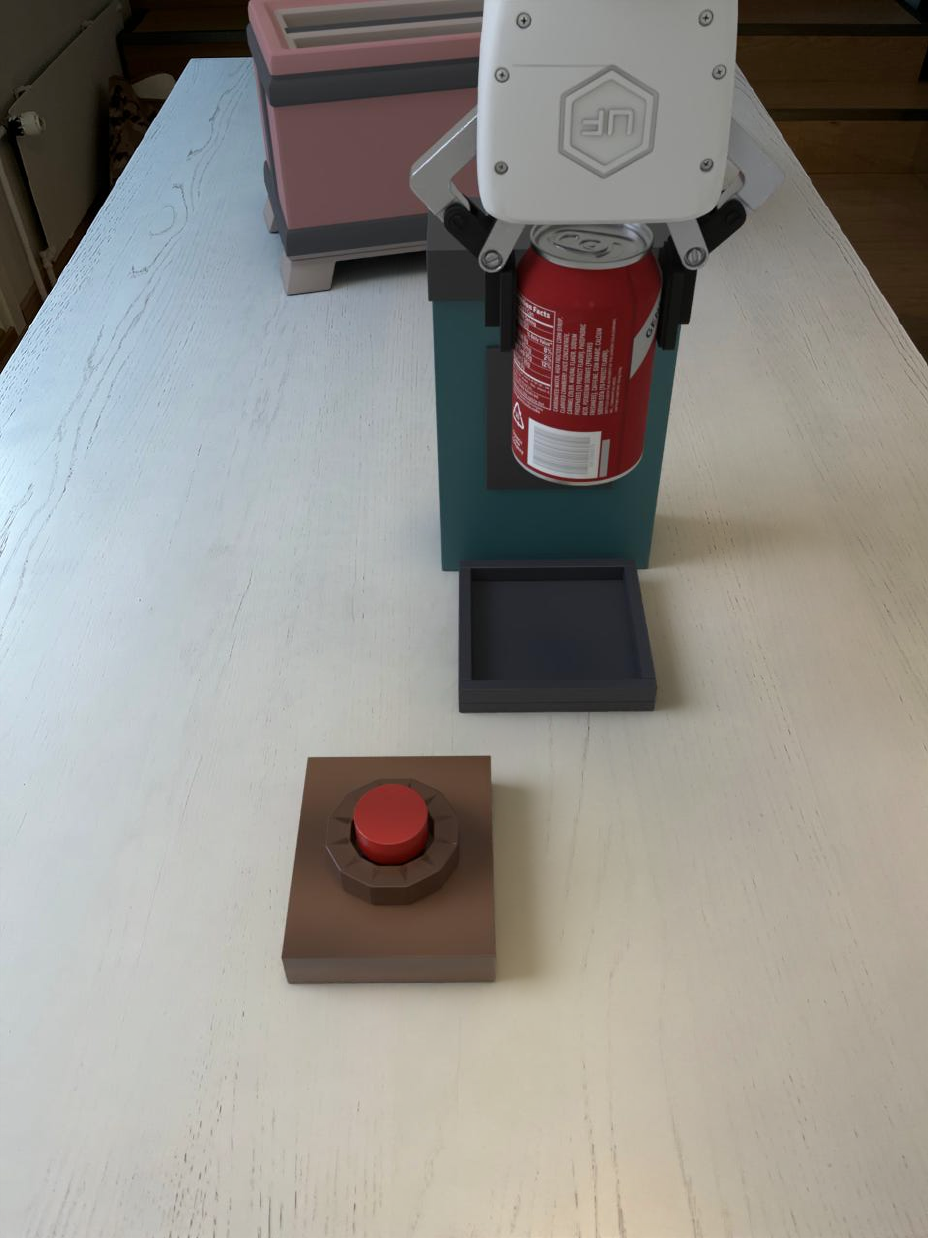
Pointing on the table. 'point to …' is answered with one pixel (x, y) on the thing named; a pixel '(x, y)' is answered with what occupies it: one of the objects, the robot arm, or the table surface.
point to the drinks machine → (482, 437)
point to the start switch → (393, 878)
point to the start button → (391, 824)
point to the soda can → (584, 350)
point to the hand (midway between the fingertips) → (584, 334)
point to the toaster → (357, 121)
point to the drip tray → (553, 637)
